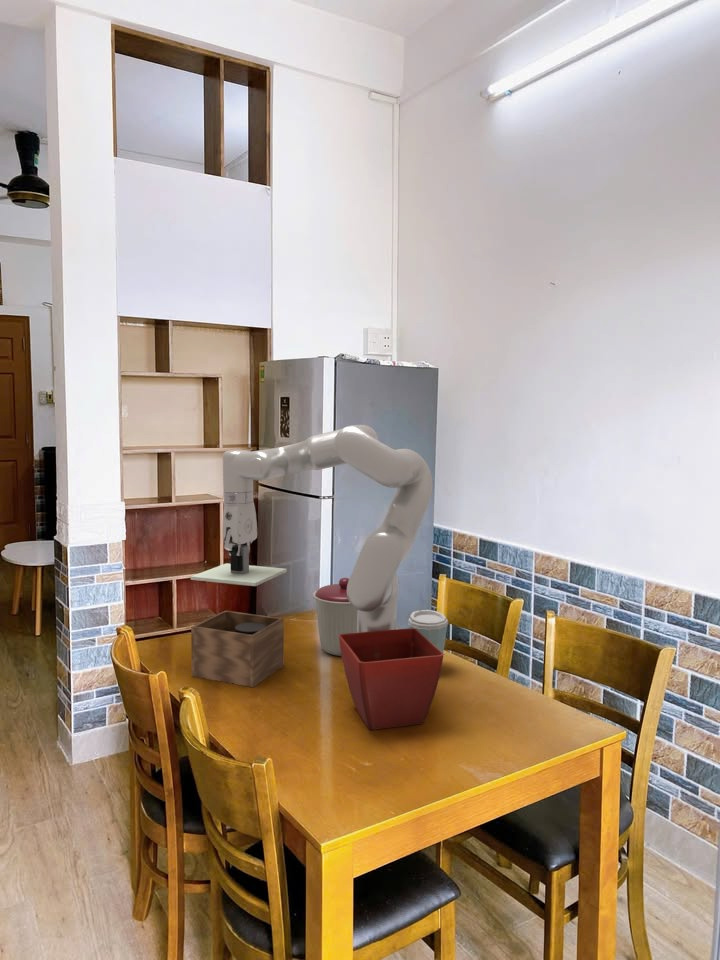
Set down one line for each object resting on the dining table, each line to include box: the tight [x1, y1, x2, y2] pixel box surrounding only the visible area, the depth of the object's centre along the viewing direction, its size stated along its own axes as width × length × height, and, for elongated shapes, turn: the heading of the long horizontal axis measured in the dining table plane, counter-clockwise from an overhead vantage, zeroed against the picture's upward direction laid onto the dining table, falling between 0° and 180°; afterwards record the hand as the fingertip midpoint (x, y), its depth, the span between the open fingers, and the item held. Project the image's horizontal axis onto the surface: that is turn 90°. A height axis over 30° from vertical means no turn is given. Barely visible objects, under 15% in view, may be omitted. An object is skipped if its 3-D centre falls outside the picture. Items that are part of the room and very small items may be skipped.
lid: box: [190, 545, 288, 587], centre depth 186 cm, size 19×17×8 cm
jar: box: [235, 622, 266, 635], centre depth 188 cm, size 9×8×12 cm
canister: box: [312, 577, 358, 657], centre depth 205 cm, size 18×18×21 cm
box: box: [190, 610, 285, 688], centre depth 188 cm, size 18×16×13 cm
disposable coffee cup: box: [407, 609, 449, 654], centre depth 191 cm, size 11×11×15 cm
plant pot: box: [339, 627, 445, 730], centre depth 162 cm, size 19×19×17 cm
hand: (239, 568), depth 186 cm, fingers closed on lid, 2 cm apart
